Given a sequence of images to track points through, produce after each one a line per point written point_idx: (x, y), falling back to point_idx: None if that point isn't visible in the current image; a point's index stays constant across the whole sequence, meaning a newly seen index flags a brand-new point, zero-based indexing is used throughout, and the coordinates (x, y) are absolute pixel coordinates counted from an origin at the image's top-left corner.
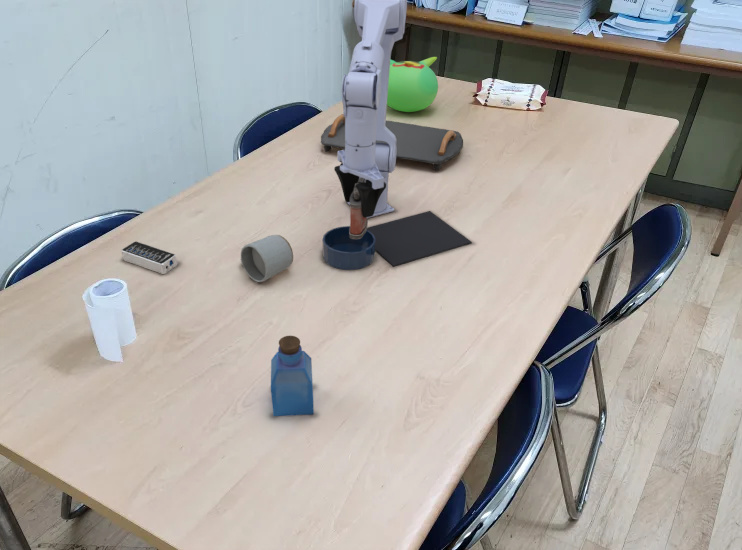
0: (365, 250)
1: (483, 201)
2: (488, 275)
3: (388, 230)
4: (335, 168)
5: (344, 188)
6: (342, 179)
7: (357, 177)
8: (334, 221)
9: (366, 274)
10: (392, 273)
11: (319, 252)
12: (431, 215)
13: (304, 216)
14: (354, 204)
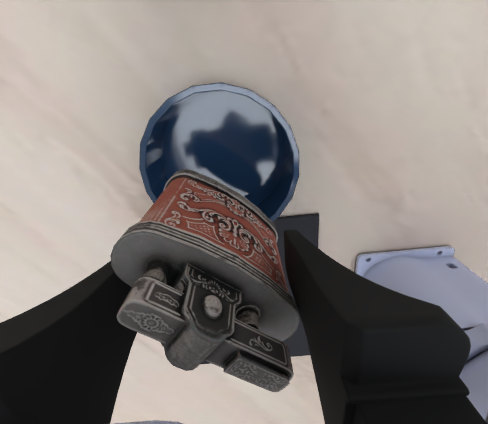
0: (146, 190)
1: (302, 413)
2: None
3: (284, 275)
4: (435, 331)
5: (304, 263)
6: (321, 295)
7: (315, 363)
8: (392, 189)
9: (131, 165)
10: (124, 218)
11: (271, 89)
12: (297, 351)
13: (468, 124)
14: (119, 244)
